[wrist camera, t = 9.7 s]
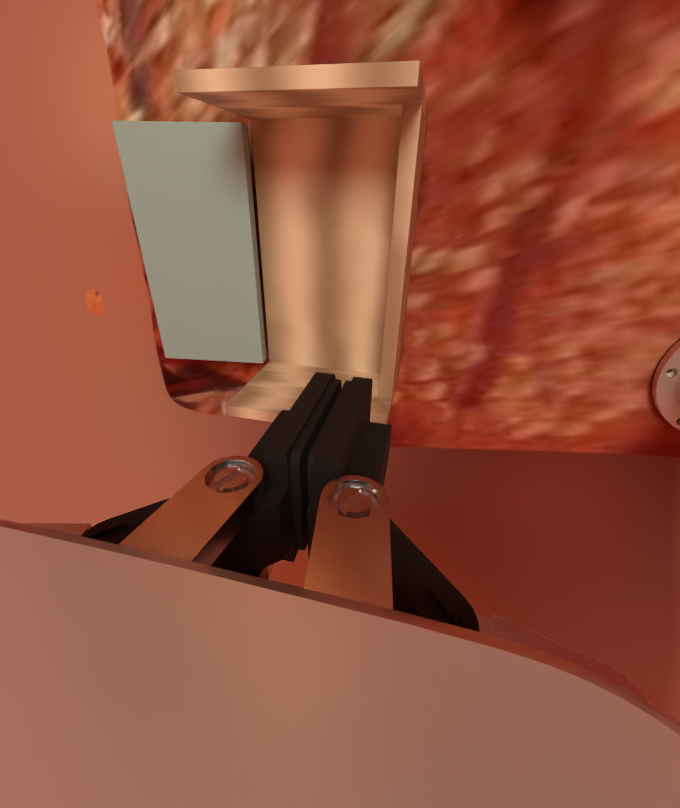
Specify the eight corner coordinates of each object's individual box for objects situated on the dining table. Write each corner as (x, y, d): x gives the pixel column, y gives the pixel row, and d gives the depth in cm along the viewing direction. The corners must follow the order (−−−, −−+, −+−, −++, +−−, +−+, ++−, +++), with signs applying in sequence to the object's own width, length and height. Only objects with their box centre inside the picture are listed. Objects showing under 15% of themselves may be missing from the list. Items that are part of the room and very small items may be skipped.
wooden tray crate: (427, 107, 30) (419, 60, 19) (399, 373, 42) (383, 438, 31) (264, 110, 33) (174, 70, 22) (280, 359, 44) (226, 415, 33)
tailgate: (241, 122, 30) (111, 120, 30) (262, 363, 40) (165, 357, 41) (249, 126, 31) (126, 124, 32) (268, 355, 42) (174, 350, 43)
